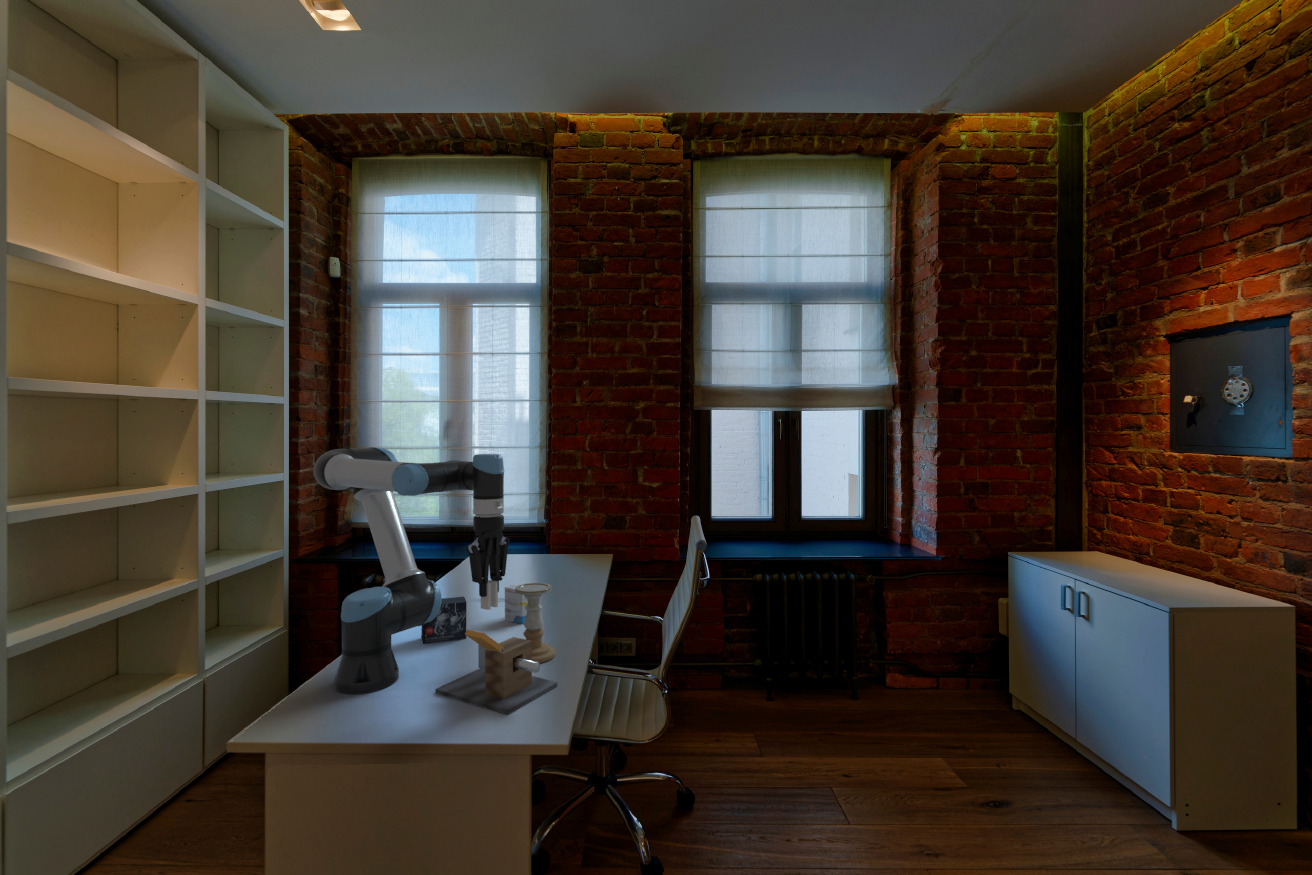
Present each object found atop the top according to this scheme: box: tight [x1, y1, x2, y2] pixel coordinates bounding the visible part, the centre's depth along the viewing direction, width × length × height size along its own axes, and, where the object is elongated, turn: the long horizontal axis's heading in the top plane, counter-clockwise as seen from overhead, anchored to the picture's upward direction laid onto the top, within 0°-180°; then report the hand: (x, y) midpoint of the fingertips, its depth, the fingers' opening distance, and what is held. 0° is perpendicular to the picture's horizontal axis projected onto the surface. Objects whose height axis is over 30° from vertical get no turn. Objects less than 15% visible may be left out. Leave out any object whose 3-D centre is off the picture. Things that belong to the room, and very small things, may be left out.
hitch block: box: [434, 636, 558, 716], centre depth 154 cm, size 24×18×12 cm
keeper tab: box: [465, 629, 504, 652], centre depth 145 cm, size 6×9×1 cm
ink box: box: [504, 581, 528, 625], centre depth 212 cm, size 9×8×12 cm
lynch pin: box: [477, 643, 541, 674], centre depth 152 cm, size 18×5×6 cm, turn 60°
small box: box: [420, 596, 467, 645], centre depth 192 cm, size 13×7×12 cm, turn 114°
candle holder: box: [515, 582, 556, 664], centre depth 177 cm, size 12×12×20 cm
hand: (489, 607), depth 155 cm, fingers open, 2 cm apart
